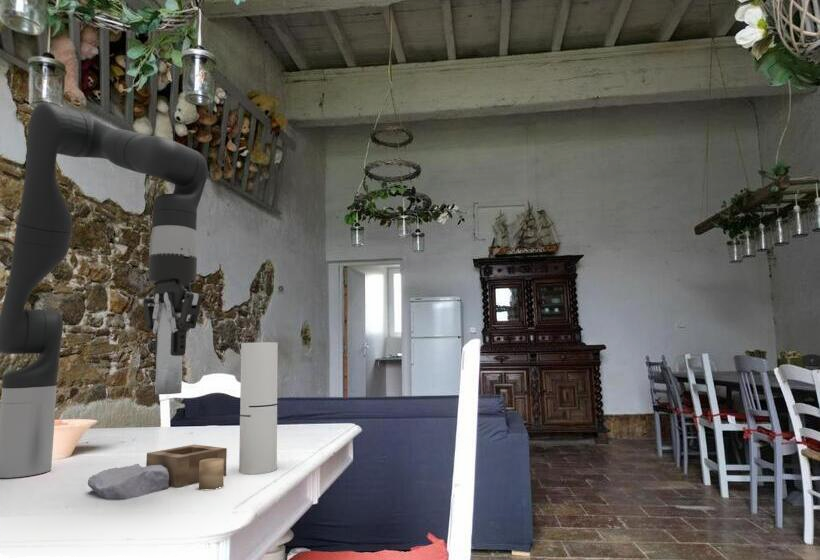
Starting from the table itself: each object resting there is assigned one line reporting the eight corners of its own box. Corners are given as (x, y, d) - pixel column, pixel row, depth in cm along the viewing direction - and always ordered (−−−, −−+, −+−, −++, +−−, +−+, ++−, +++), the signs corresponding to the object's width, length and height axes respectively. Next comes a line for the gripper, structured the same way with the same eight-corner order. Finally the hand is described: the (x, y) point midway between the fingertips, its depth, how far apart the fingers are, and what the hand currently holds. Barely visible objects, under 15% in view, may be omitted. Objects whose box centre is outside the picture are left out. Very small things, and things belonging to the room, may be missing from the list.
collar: (145, 481, 97) (146, 453, 98) (193, 470, 106) (194, 444, 106) (178, 487, 92) (179, 457, 93) (226, 475, 100) (226, 448, 101)
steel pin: (150, 394, 87) (153, 303, 89) (172, 392, 91) (175, 305, 93) (164, 394, 85) (167, 302, 87) (186, 392, 88) (189, 303, 90)
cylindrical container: (271, 473, 100) (272, 342, 104) (233, 474, 101) (236, 343, 104) (280, 465, 108) (281, 342, 111) (246, 466, 108) (248, 343, 111)
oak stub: (193, 488, 91) (194, 461, 92) (213, 483, 94) (214, 457, 95) (208, 491, 89) (209, 463, 90) (228, 485, 92) (228, 459, 93)
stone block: (121, 514, 84) (175, 486, 92) (116, 484, 84) (171, 459, 92) (79, 508, 89) (134, 482, 98) (74, 480, 89) (129, 457, 98)
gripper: (129, 257, 92) (124, 356, 89) (178, 247, 84) (174, 355, 82) (169, 262, 98) (165, 356, 96) (218, 253, 90) (215, 354, 88)
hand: (169, 355), depth 89 cm, fingers closed on steel pin, 4 cm apart
